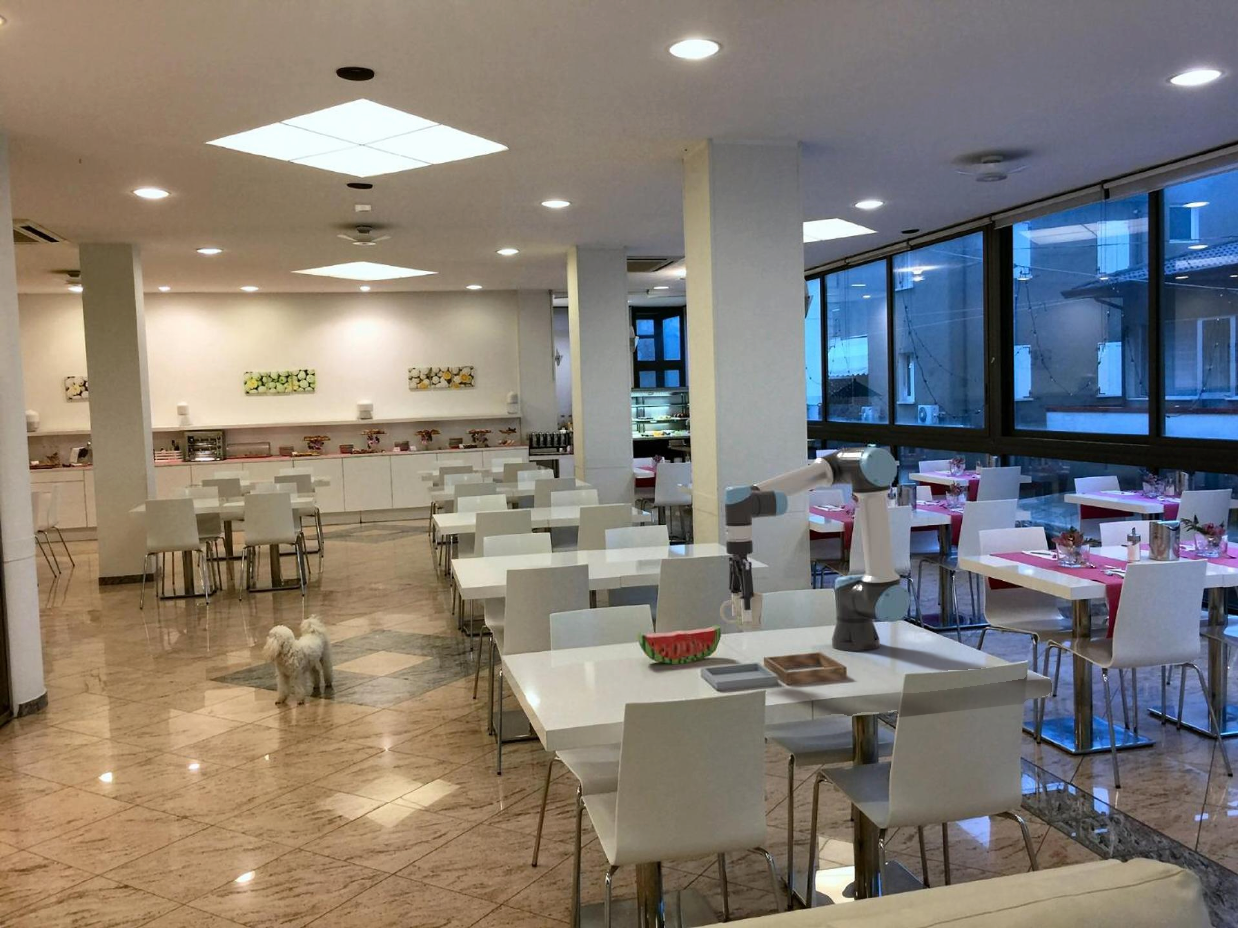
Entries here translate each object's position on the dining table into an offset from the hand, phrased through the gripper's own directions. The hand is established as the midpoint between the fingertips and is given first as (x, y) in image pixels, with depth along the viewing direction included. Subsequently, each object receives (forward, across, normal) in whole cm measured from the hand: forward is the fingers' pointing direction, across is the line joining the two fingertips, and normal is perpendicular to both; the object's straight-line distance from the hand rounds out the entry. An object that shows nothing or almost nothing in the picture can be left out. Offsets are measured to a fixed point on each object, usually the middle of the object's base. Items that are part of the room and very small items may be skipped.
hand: (742, 618), depth 286 cm
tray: (+18, 0, -2) cm, 18 cm away
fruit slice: (+18, -29, -11) cm, 36 cm away
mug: (+3, 0, 0) cm, 3 cm away
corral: (+18, 0, +18) cm, 26 cm away
